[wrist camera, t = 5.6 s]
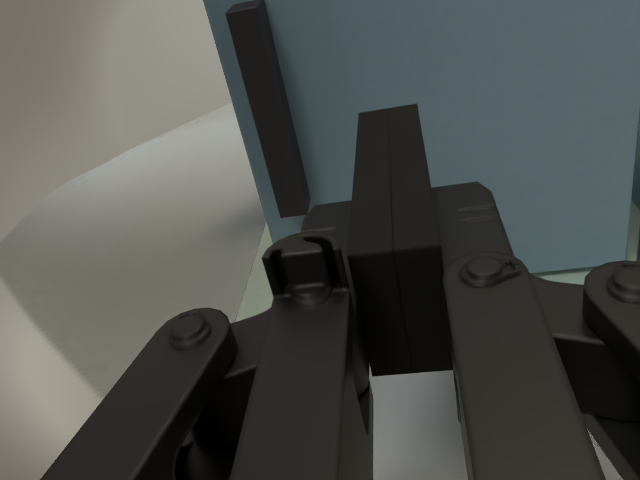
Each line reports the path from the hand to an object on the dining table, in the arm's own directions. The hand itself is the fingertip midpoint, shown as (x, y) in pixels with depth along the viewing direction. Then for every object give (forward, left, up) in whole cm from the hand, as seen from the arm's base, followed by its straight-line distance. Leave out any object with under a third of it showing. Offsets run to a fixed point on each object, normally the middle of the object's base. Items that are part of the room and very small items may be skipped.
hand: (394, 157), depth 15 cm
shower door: (+1, +4, -8) cm, 9 cm away
